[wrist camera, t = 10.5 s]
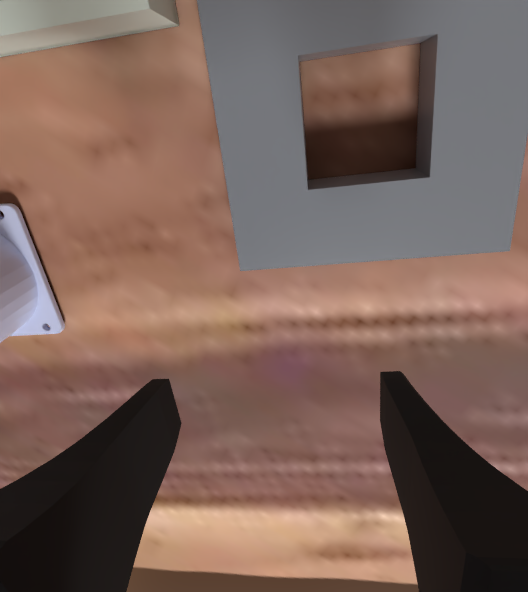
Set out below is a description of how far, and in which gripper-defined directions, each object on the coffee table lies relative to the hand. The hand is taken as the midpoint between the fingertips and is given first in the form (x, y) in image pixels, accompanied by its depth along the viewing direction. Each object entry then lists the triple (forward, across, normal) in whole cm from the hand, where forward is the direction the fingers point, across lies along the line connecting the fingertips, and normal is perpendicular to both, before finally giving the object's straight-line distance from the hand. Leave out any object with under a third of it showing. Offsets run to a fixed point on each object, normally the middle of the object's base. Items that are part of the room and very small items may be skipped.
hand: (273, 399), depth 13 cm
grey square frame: (+9, -4, -8) cm, 13 cm away
